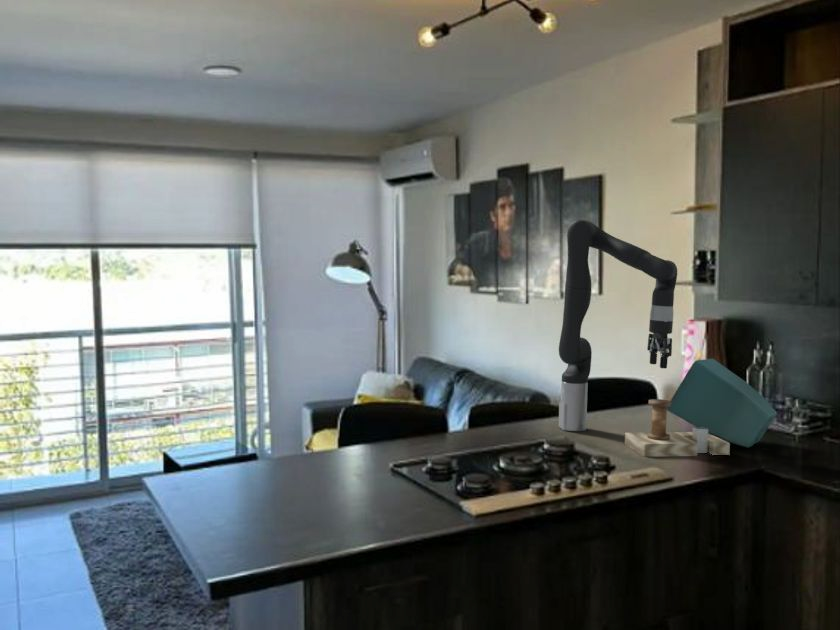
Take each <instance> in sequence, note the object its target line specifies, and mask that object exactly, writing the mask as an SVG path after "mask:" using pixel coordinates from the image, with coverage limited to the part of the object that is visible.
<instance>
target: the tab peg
mask: <svg viewBox="0 0 840 630" xmlns="http://www.w3.org/2000/svg"><path fill="white" fill-rule="evenodd" d="M691 432H692V441H694V442H696V443H697V453H707V447H708V429H707V428H705V427H695V426H692V430H691ZM707 454H708V453H707Z"/></svg>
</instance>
